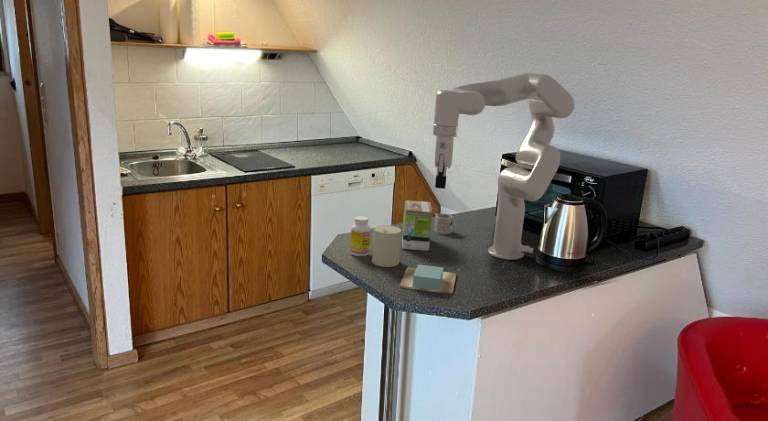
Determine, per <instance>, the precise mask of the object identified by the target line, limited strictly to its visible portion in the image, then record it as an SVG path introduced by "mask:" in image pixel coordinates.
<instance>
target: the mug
mask: <svg viewBox="0 0 768 421" xmlns="http://www.w3.org/2000/svg"><path fill="white" fill-rule="evenodd" d="M453 218H454V216H453V215H451V214H447V213H437V214H436V215H435V224H434V233H435V234H437V235H446V236H448V235H450V234H452V229H453Z"/></svg>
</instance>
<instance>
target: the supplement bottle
mask: <svg viewBox="0 0 768 421" xmlns="http://www.w3.org/2000/svg"><path fill="white" fill-rule="evenodd" d="M350 229H351V230H350V246H349V251H350V252H349V253H350V254H351V255H353V256H355V257H366V256H368V255H369V253H370V245H371V233H372V232H371V231H372V230H371V229H372V228H371V226H370V225H369V217H367V216H363V215H362V216H361V215H359V216H355V217H354V224H352V226H351V228H350Z"/></svg>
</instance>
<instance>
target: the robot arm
mask: <svg viewBox="0 0 768 421" xmlns="http://www.w3.org/2000/svg"><path fill="white" fill-rule="evenodd" d="M524 100H528V107H529V110H530V116H531V124H530V127H529V129H528V131H527V133H526V135H525V137H524V138H523V140H522V142H521V144H520V146H519V147H518V149H517V151H516V154H515V161H516V163H517V164H518V165H519V166H521V167H522V168H526V169H530V170H531V171H530V170H529V171H528V170H526V169H522V168H518V167H514V166H511V167H505V168H504V169H503V170H500V173H499V174H498V178H497V192H498V194H497V196H498V198H497V210H496V217H495V219H496V220H495V226H494V234H493V243H492V246H490V247H488V250H487V252H488V254H489V255H491V256H492V257H495V258H497V259H502V260H510V261H511V260H512V261H513V260H521V259H522V258H523V257H524V253H527V254H533V253H534V247H530V245H523V244H522V236H523V235H522V233H523V227H524V220H525V213H526V212H525V211H526V204H525V201H529V202H536V201H537V200H539V199H541V197H543V195H544V194H545V192H546V191H547V189H548V188H549V185H550V184H551V182H552V180H553V178H554V177H555V174H556V173H557V171H558V170H559V166H560V164H561V153H560V151H559V149H558V147H555V146H554V145H551V142H552V140H553V138H554V135H555V125H554V121H553V118H554V119H556V118H557V119H566V118H569V117H570V116H571V115H572V114H573V112H574V109H575V100H574V98H573V96H572V94H571V93H570V92H569V91H568V90H567V89H565V87H563V85H561V84H560V83H559V82H558V81H557V80H556V79H555V78H554V77H552V76H550V75H548V74H544V73H534V72H524V73H520V74H517V75H513V76H509V77H506V78H502V79H495V80H489V81H488V80H487V81H483V82H475V83H474V82H473V83H469V84H464V85H460V86H457V87H454V88H452V89H450V90H448V89H441V90H439V91H437V92H436V94H435V104H434V105H435V106H434V107H435V108H434V118H433V128H432V135H433V136H436V139H435V150H434V167H435V168H436V175H435V184H434V188H436V189H443V190H444V189H446V185H447V169H451V168H452V164H453V152H454V138H455V137H457V136H458V129H459V128H458V127H459V116H460V115H467V116H477V115H480V113H482V112H483V111H484V109H485V108H486V107H485V106H487V107H502V106H507V105H510V104H514V103H518V102H520V101H521V102H522V101H524Z"/></svg>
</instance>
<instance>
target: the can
mask: <svg viewBox="0 0 768 421" xmlns="http://www.w3.org/2000/svg"><path fill="white" fill-rule="evenodd" d="M401 238H402V229H401V228H399V227H398V226H393V225H376V226H375V227H374V228H373V241H372V242H373V243H372V256H371V258H372V259H371V263H372V264H373V265H376V266H378V267H384V268H390V267H391V268H392V267H396V266H398V265H399V263H400V246H401Z"/></svg>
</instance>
